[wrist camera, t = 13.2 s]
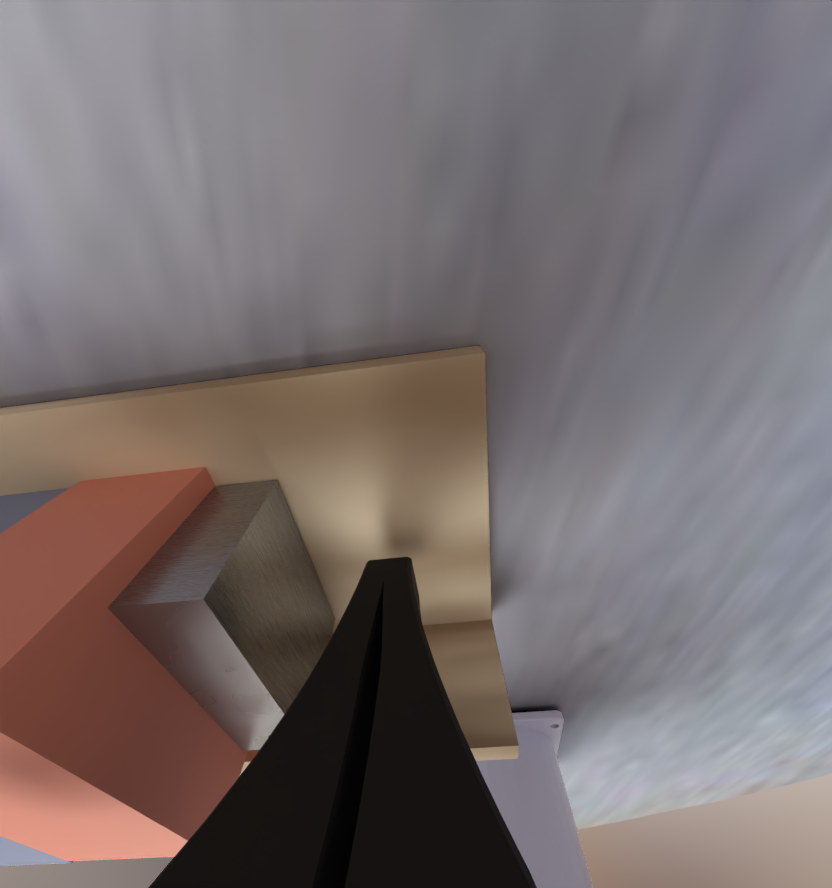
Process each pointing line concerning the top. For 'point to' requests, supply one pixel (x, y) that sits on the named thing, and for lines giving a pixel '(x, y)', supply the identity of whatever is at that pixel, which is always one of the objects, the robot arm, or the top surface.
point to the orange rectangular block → (99, 682)
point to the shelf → (323, 484)
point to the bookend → (233, 609)
